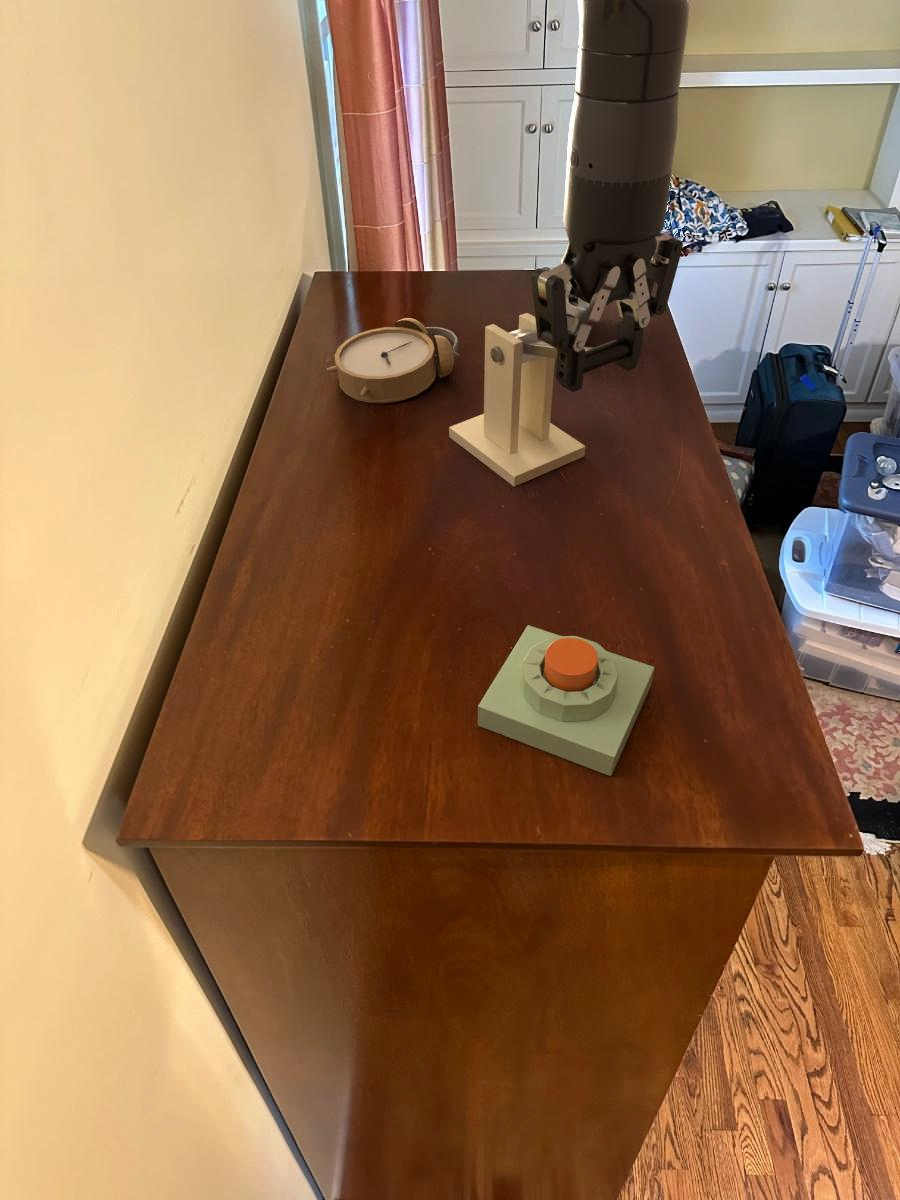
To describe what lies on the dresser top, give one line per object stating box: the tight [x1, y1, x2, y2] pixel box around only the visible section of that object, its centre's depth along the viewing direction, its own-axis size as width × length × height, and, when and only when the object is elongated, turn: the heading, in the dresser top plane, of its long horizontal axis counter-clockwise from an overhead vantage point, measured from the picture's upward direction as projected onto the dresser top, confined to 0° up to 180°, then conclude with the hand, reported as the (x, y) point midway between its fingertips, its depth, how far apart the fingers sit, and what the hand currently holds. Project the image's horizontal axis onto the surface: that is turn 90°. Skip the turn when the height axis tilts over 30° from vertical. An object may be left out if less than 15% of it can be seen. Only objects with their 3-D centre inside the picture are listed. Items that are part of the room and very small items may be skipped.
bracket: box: [448, 312, 586, 487], centre depth 84 cm, size 11×9×13 cm
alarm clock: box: [326, 317, 460, 404], centre depth 98 cm, size 11×5×15 cm
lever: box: [508, 328, 631, 375], centre depth 76 cm, size 13×6×2 cm, turn 35°
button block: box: [477, 624, 655, 777], centre depth 61 cm, size 10×9×4 cm
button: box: [544, 638, 598, 692], centre depth 60 cm, size 4×4×2 cm
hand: (597, 376), depth 73 cm, fingers closed on lever, 5 cm apart
